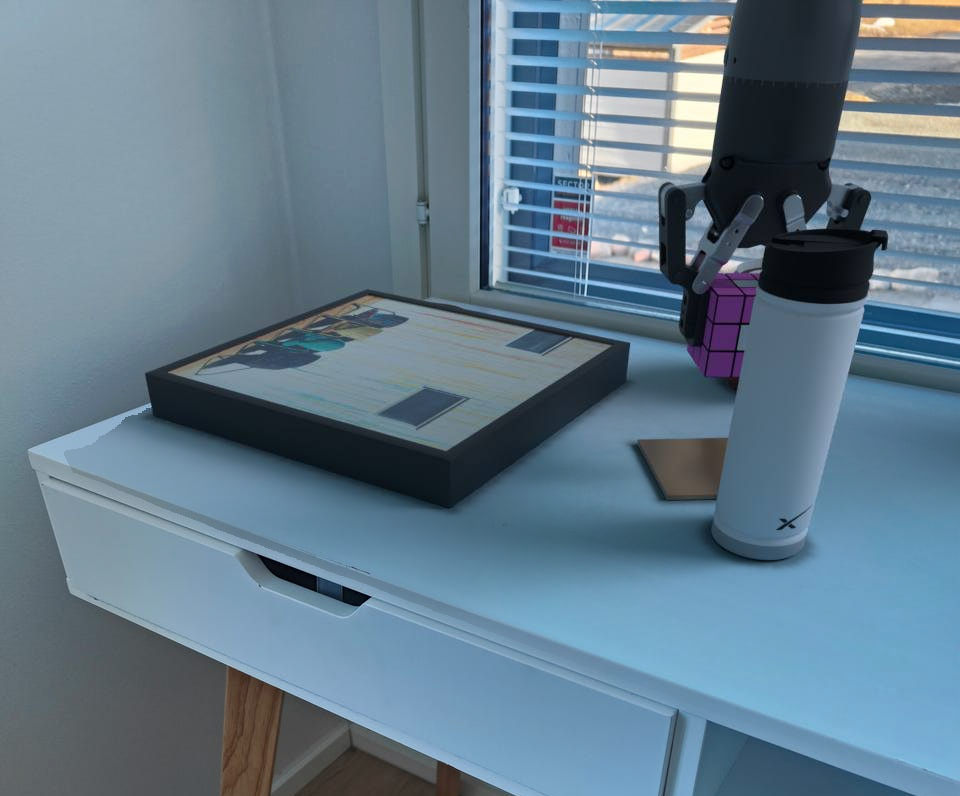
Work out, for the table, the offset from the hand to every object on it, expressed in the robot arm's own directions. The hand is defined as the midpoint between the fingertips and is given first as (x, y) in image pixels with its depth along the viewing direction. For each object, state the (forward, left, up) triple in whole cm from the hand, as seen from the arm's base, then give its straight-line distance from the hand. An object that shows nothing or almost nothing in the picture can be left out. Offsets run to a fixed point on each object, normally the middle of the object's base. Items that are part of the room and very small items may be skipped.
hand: (737, 342), depth 67 cm
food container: (-8, -18, -10) cm, 23 cm away
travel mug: (0, +11, -10) cm, 15 cm away
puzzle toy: (0, 0, -2) cm, 2 cm away
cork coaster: (0, 0, -10) cm, 10 cm away
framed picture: (+24, -16, -10) cm, 31 cm away
